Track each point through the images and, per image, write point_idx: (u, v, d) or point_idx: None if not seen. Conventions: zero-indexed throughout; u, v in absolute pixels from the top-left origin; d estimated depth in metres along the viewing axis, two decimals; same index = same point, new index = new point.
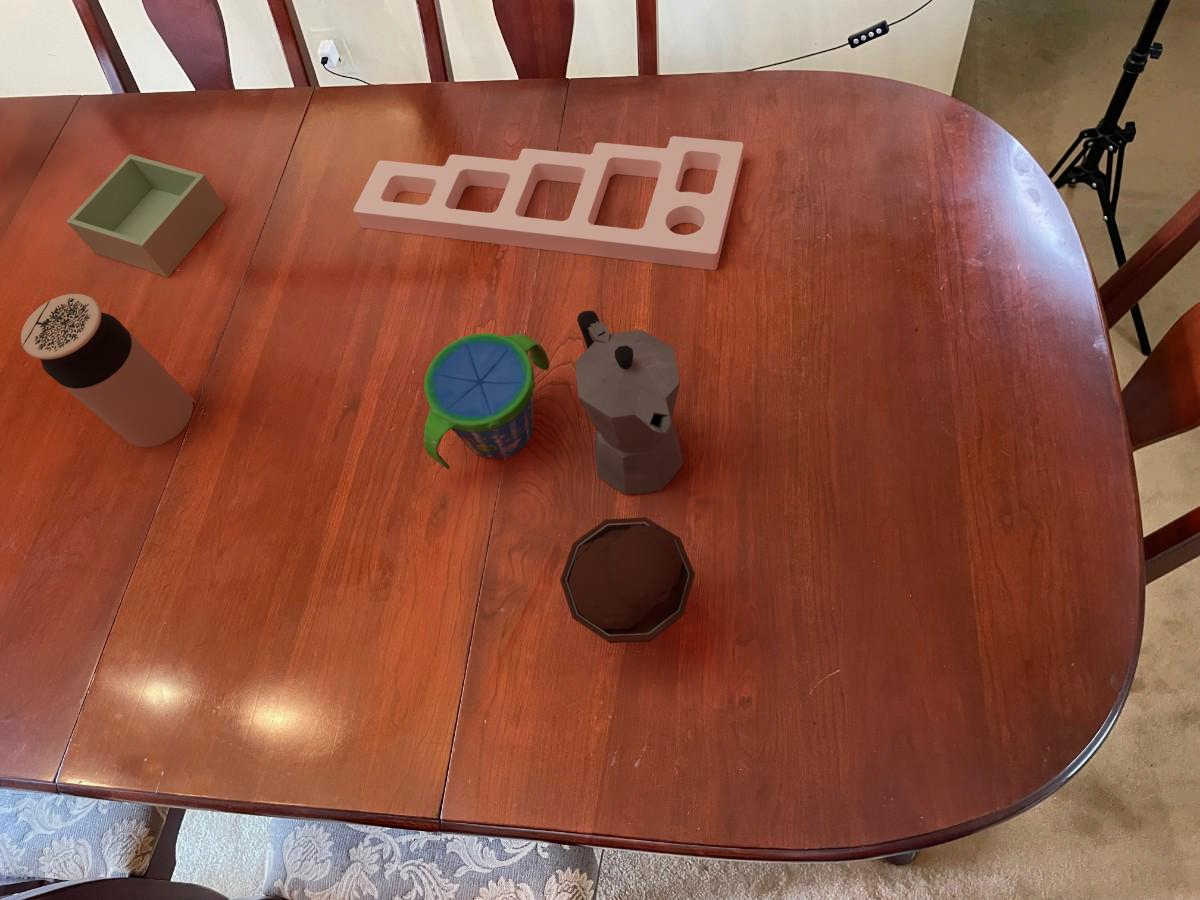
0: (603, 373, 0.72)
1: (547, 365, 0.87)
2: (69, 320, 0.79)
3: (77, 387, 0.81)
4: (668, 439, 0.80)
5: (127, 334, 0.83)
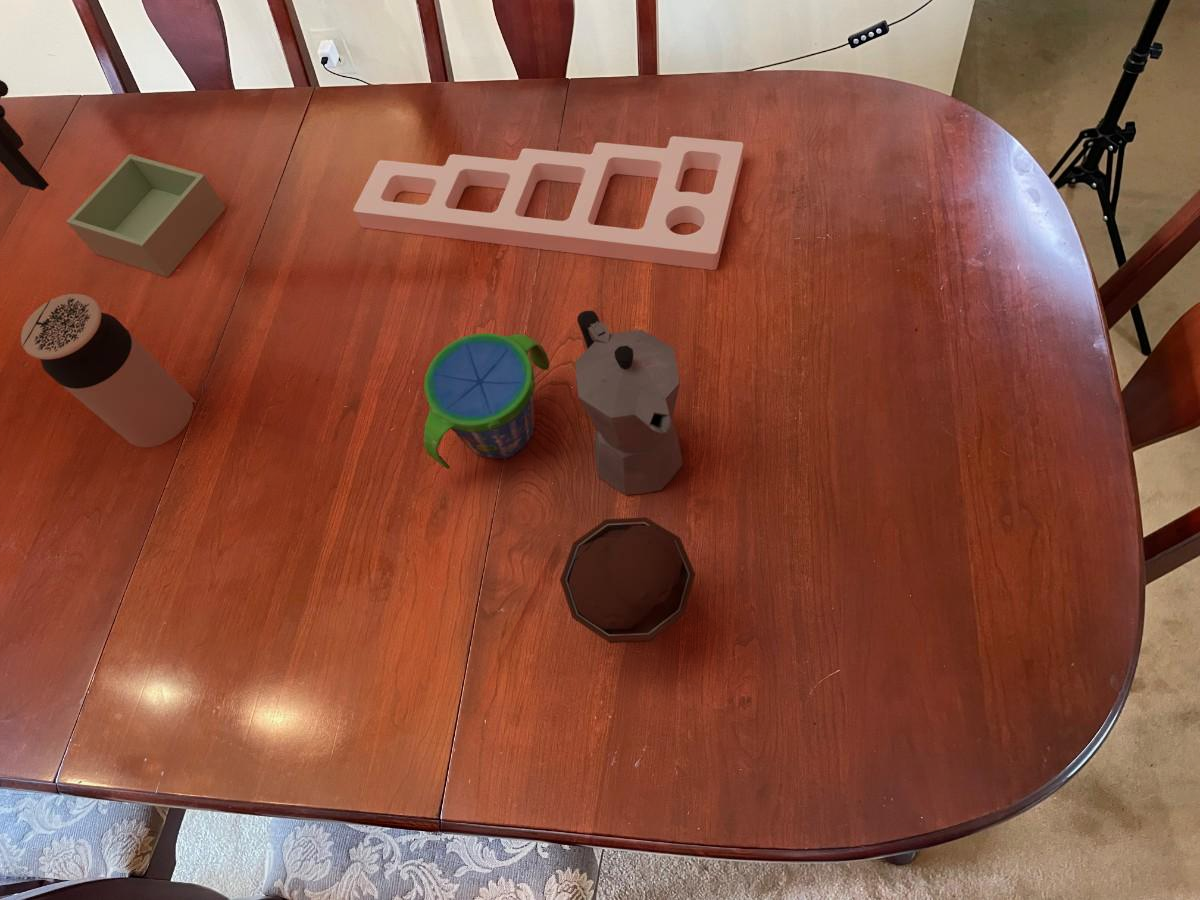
0: (603, 373, 0.72)
1: (547, 365, 0.87)
2: (69, 320, 0.79)
3: (77, 387, 0.81)
4: (668, 439, 0.80)
5: (127, 334, 0.83)
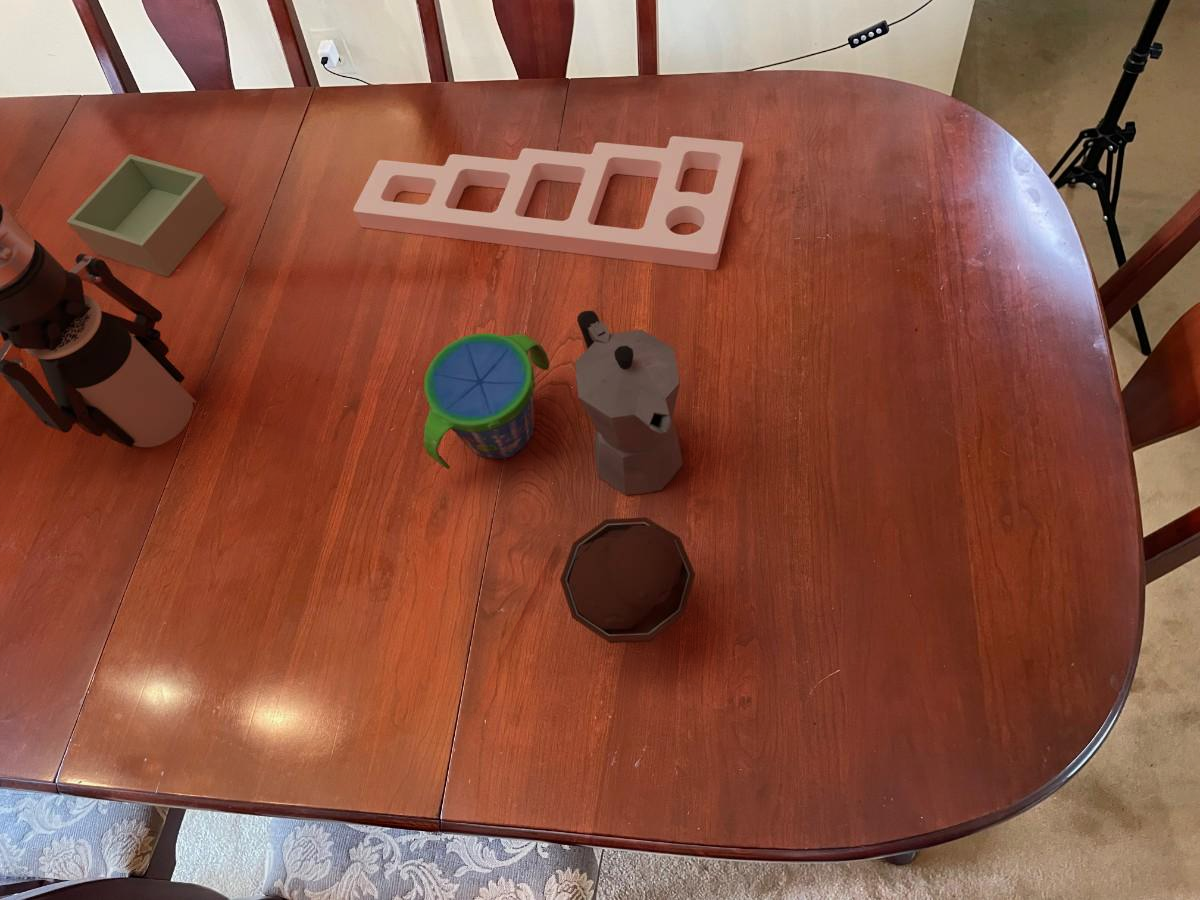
0: (603, 373, 0.72)
1: (547, 365, 0.87)
2: None
3: (77, 387, 0.81)
4: (668, 439, 0.80)
5: (127, 334, 0.83)
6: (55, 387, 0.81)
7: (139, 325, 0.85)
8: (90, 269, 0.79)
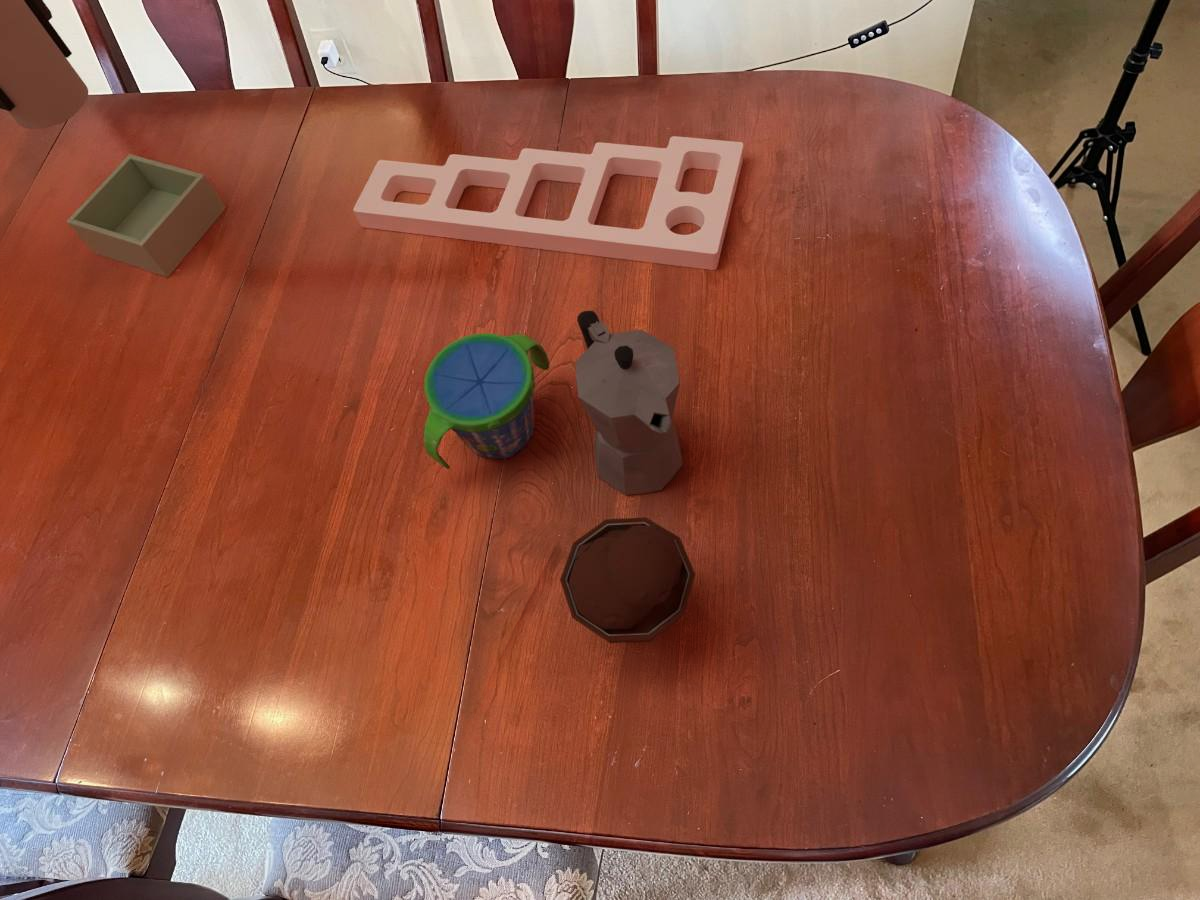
0: (603, 373, 0.72)
1: (547, 365, 0.87)
2: None
3: None
4: (668, 439, 0.80)
5: None
6: None
7: None
8: None
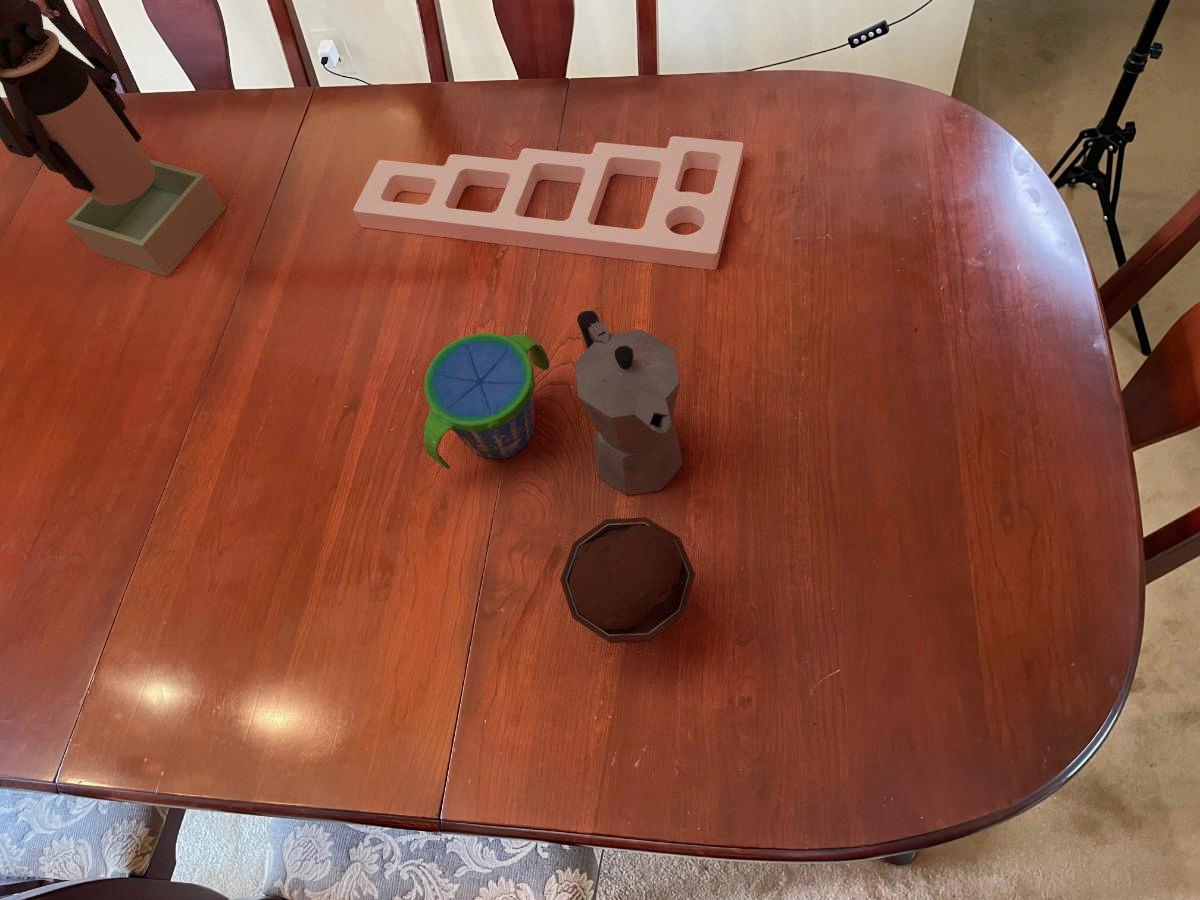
0: (603, 373, 0.72)
1: (547, 365, 0.87)
2: None
3: (38, 113, 0.89)
4: (668, 439, 0.80)
5: (84, 72, 0.91)
6: (18, 113, 0.89)
7: (96, 71, 0.94)
8: (49, 3, 0.88)
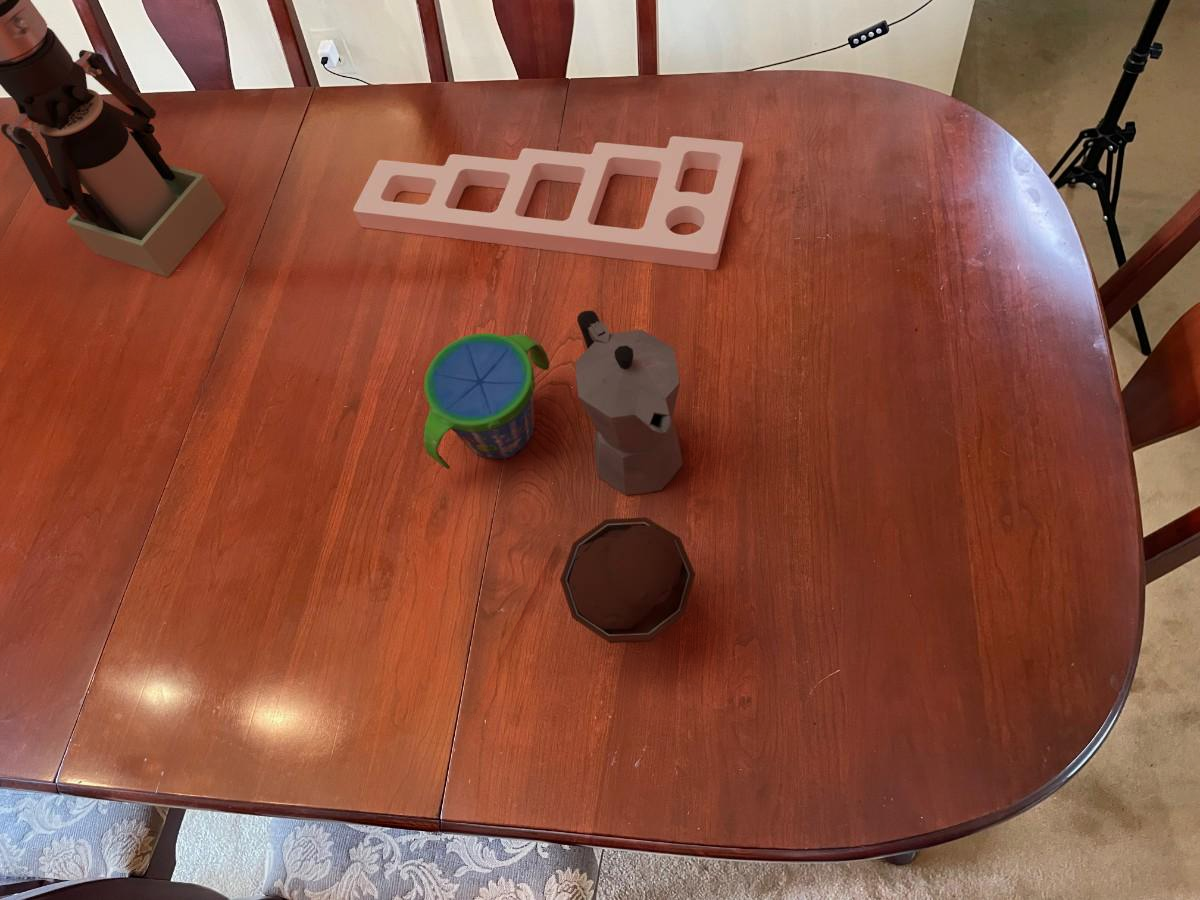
0: (603, 373, 0.72)
1: (547, 365, 0.87)
2: None
3: (82, 167, 0.95)
4: (668, 439, 0.80)
5: (125, 127, 0.98)
6: (58, 167, 0.95)
7: (135, 118, 1.00)
8: (91, 62, 0.94)
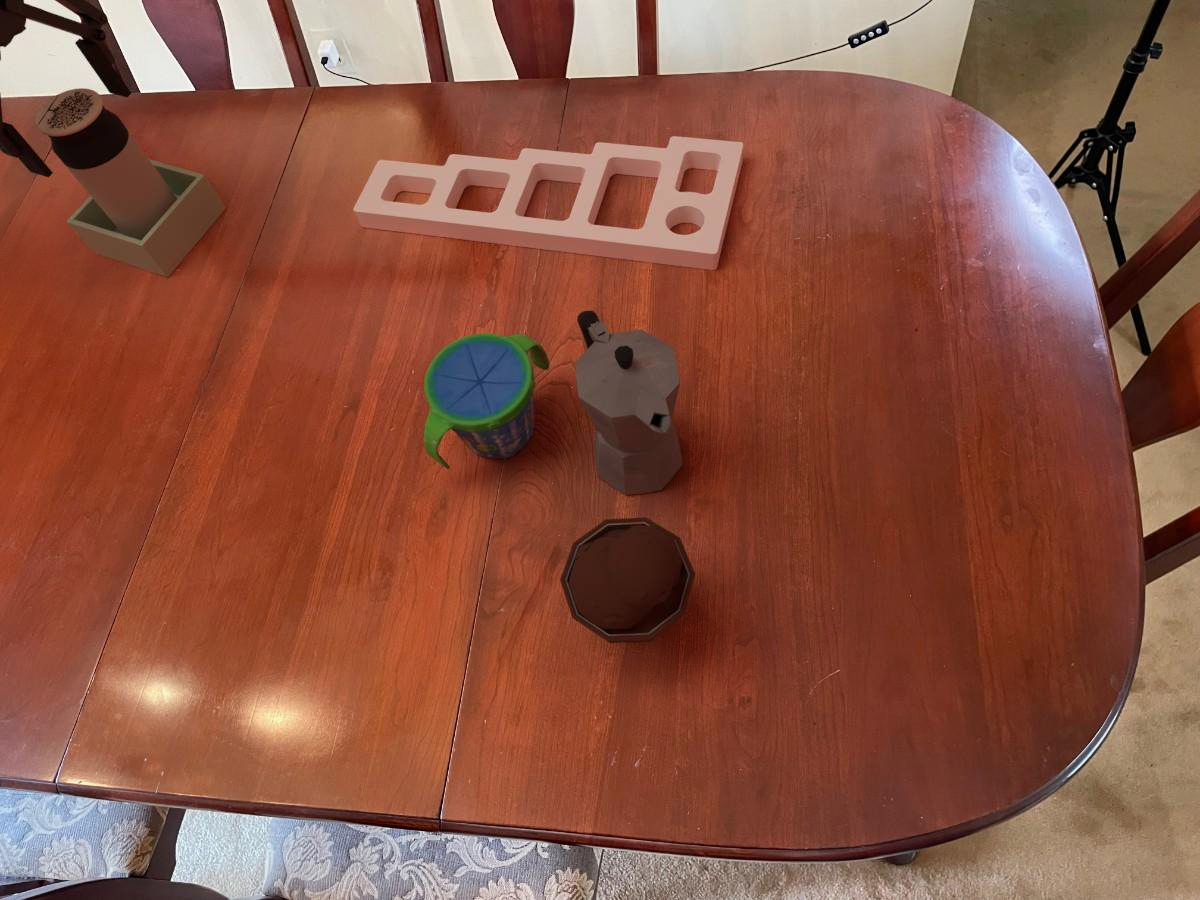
0: (603, 373, 0.72)
1: (547, 365, 0.87)
2: (76, 107, 0.93)
3: (82, 167, 0.95)
4: (668, 439, 0.80)
5: (125, 127, 0.98)
6: None
7: (83, 25, 0.91)
8: None
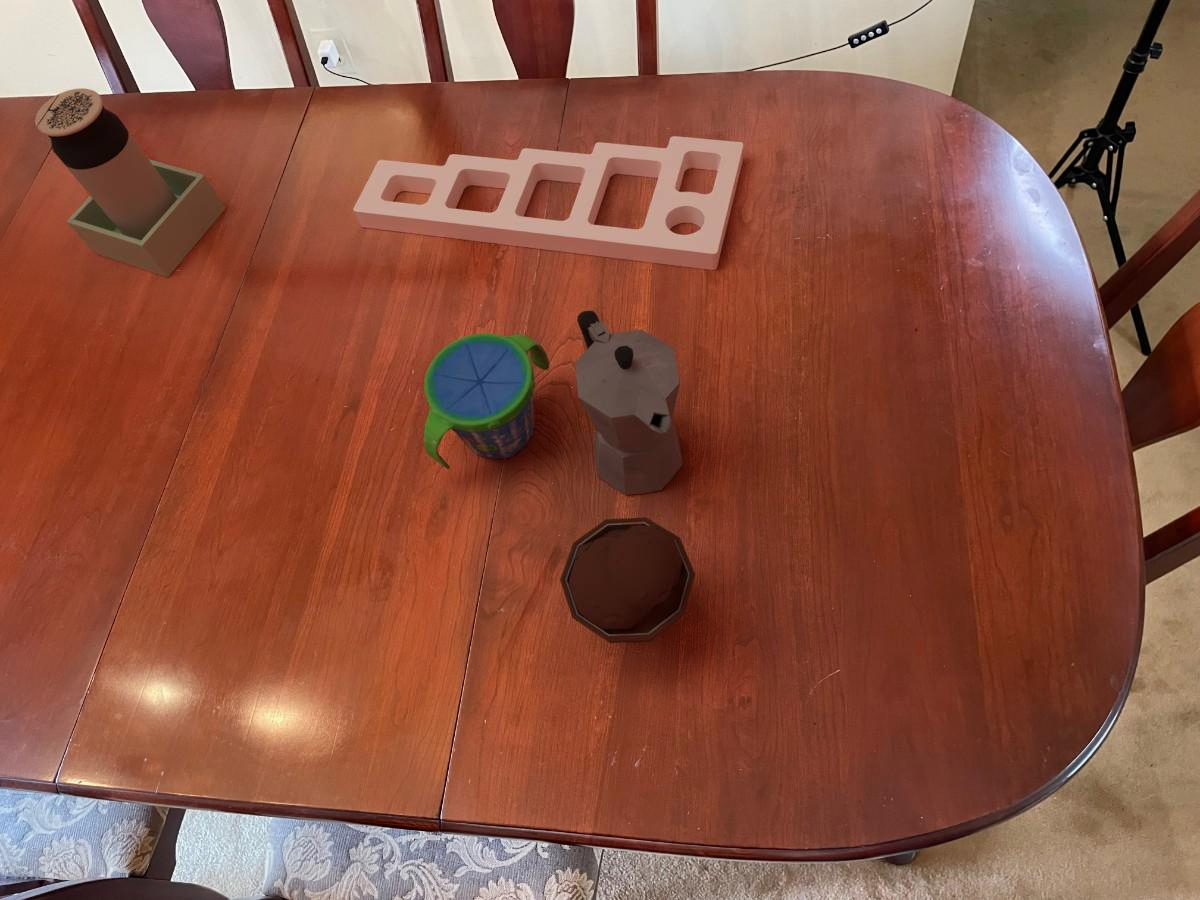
0: (603, 373, 0.72)
1: (547, 365, 0.87)
2: (75, 107, 0.93)
3: (82, 168, 0.95)
4: (668, 439, 0.80)
5: (124, 127, 0.98)
6: None
7: None
8: None
